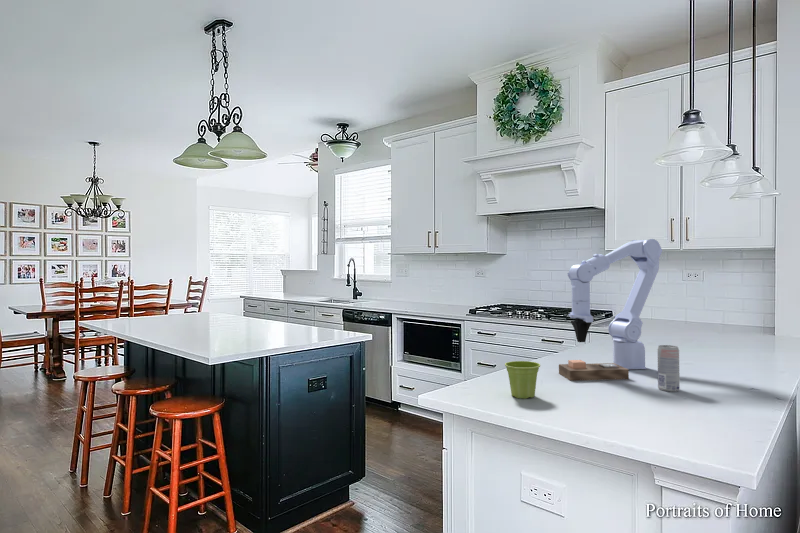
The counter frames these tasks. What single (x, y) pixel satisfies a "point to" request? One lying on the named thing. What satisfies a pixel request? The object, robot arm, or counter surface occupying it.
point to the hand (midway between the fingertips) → (581, 341)
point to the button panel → (594, 372)
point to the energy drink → (668, 368)
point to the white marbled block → (608, 365)
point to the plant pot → (522, 378)
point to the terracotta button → (576, 364)
